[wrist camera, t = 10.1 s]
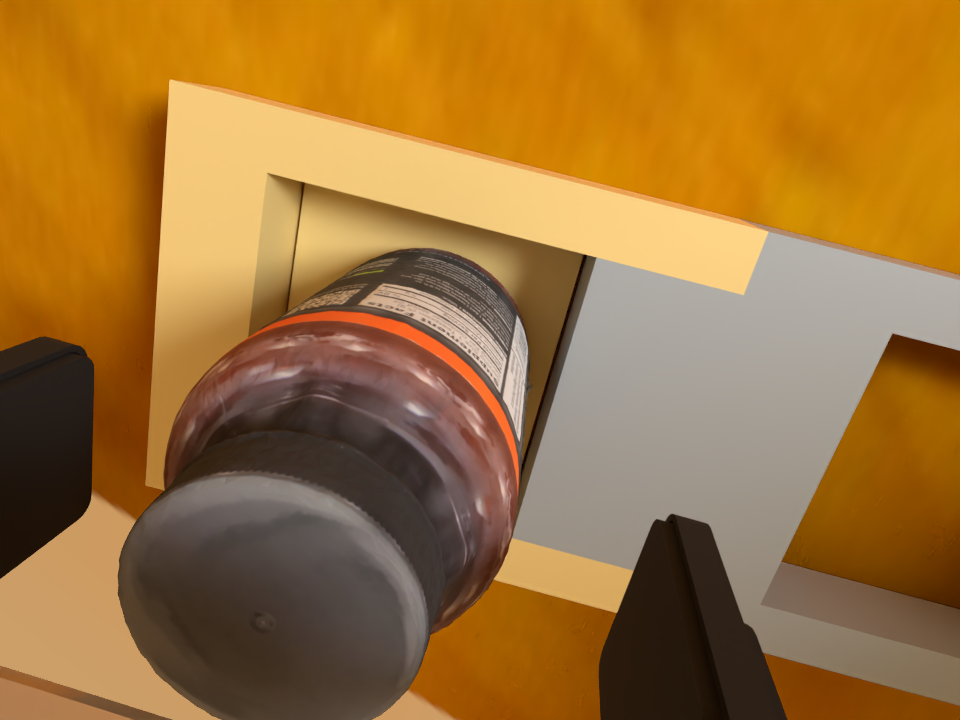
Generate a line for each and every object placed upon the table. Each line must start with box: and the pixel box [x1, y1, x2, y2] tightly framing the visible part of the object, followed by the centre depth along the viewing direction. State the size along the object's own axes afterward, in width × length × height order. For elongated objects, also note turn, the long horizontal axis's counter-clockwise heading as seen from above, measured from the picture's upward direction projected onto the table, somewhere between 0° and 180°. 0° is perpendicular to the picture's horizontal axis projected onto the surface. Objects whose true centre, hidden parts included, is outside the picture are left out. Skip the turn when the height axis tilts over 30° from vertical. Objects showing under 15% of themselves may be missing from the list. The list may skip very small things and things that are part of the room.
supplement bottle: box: [118, 248, 533, 720], centre depth 13 cm, size 6×6×11 cm
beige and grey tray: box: [145, 80, 960, 706], centre depth 17 cm, size 28×11×2 cm, turn 77°
